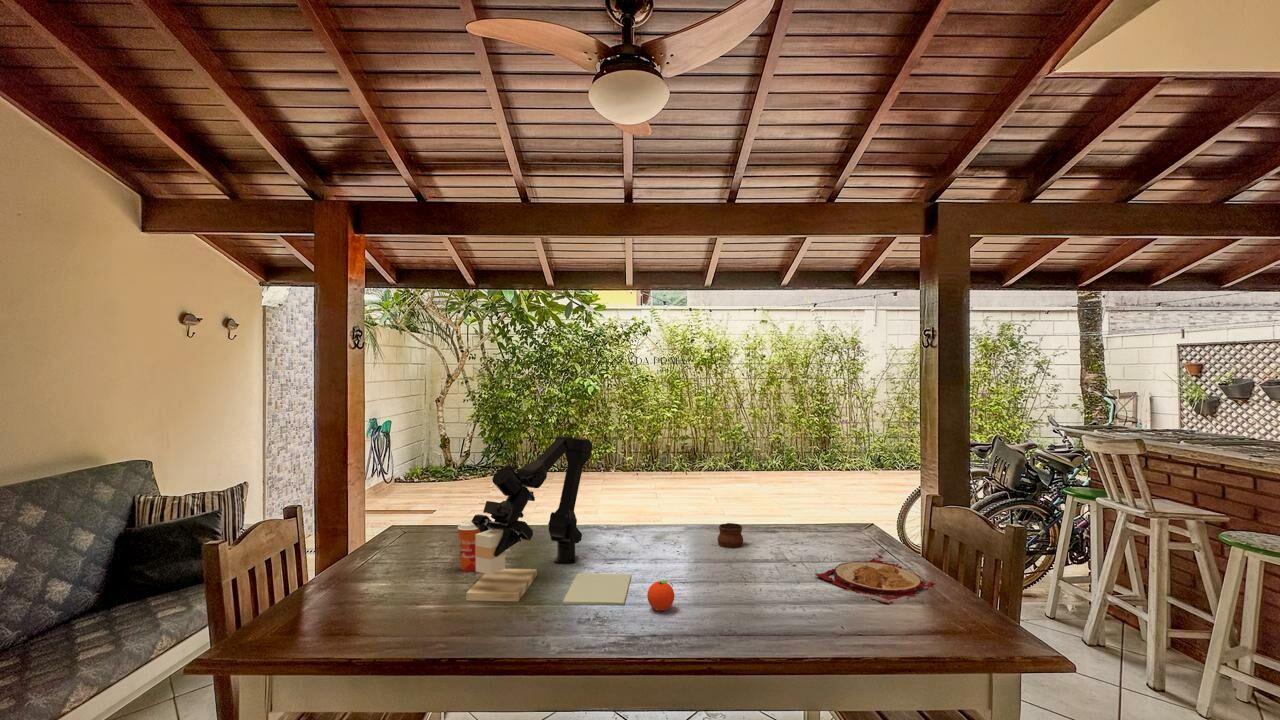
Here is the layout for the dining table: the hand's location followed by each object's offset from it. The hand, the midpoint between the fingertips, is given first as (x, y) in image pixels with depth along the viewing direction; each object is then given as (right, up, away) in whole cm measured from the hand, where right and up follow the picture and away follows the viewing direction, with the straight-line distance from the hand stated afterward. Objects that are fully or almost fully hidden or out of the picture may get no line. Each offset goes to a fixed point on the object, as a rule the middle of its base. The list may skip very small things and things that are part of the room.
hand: (486, 554), depth 165 cm
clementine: (+47, -11, -10) cm, 49 cm away
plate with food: (+110, -11, +8) cm, 110 cm away
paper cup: (-11, -12, +23) cm, 28 cm away
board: (+3, -11, +6) cm, 13 cm away
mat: (+30, -11, +4) cm, 32 cm away
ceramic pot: (+73, -12, +46) cm, 87 cm away
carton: (+1, -5, +1) cm, 5 cm away
